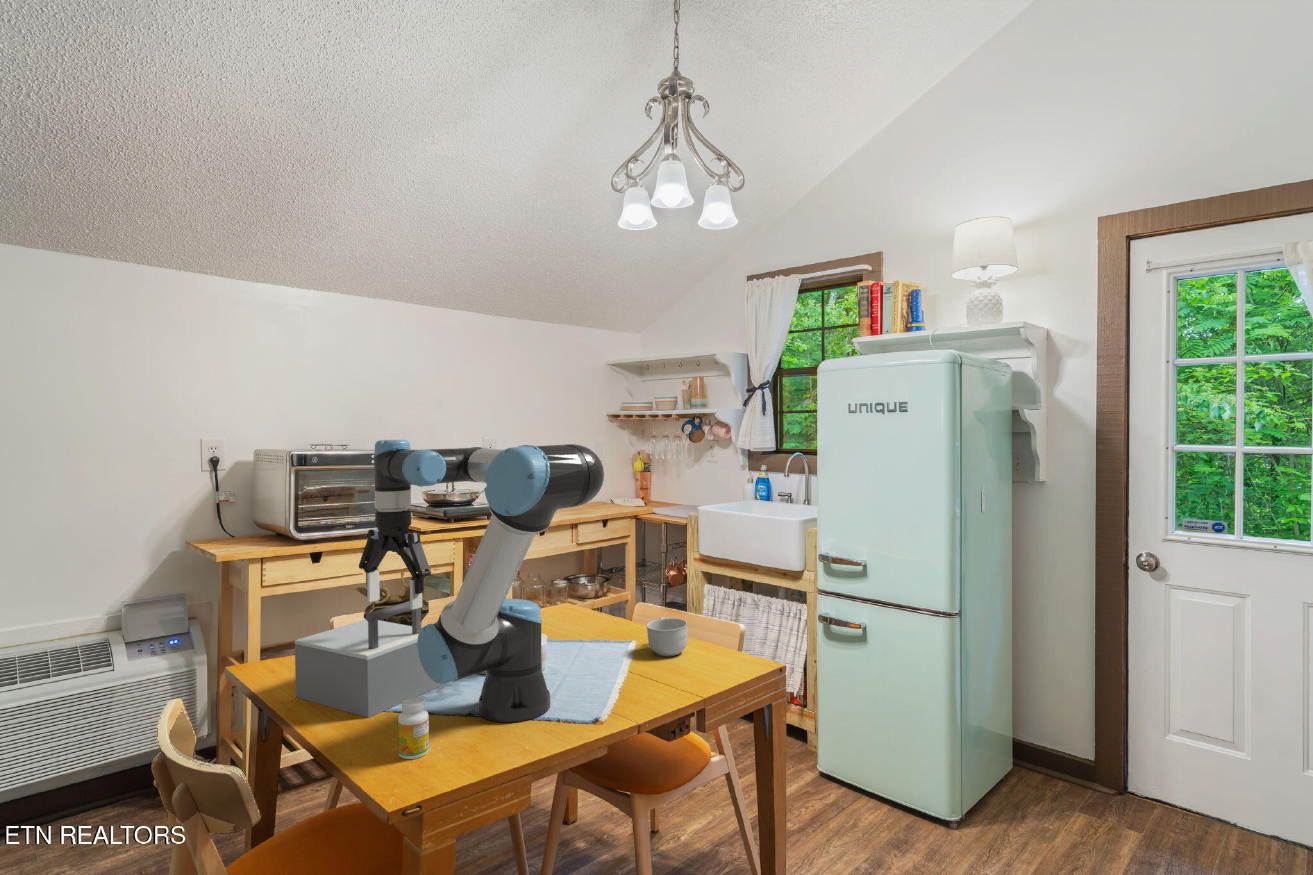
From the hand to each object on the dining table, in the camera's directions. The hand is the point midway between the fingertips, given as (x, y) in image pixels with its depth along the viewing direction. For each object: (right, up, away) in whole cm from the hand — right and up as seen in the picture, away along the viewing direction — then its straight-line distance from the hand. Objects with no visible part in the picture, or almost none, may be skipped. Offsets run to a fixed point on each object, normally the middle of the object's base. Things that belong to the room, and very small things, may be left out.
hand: (394, 604), depth 159 cm
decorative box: (-15, -21, +40) cm, 47 cm away
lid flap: (-8, -9, +4) cm, 13 cm away
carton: (-7, -21, +5) cm, 23 cm away
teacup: (+61, -20, +32) cm, 72 cm away
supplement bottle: (+13, -22, -26) cm, 37 cm away
